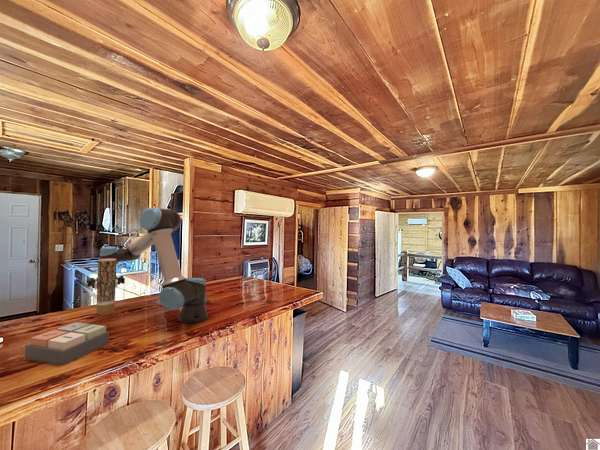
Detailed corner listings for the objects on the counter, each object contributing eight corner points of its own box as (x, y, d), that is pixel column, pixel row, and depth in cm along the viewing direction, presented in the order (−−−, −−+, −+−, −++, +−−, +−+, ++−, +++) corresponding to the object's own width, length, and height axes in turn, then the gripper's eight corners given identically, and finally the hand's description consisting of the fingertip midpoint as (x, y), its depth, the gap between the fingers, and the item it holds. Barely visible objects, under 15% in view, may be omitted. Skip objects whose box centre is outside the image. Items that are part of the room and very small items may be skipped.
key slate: (89, 330, 108) (89, 323, 108) (70, 338, 101) (71, 330, 101) (75, 328, 110) (76, 322, 110) (56, 335, 102) (56, 328, 102)
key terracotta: (67, 339, 100) (68, 331, 100) (45, 347, 92) (46, 339, 93) (53, 337, 101) (53, 329, 101) (30, 345, 94) (30, 337, 94)
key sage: (105, 332, 107) (106, 325, 107) (88, 340, 99) (88, 332, 100) (91, 331, 108) (92, 324, 108) (73, 338, 101) (73, 330, 101)
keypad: (108, 343, 107) (109, 331, 108) (62, 365, 90) (63, 351, 90) (75, 338, 111) (76, 327, 111) (24, 358, 93) (25, 345, 93)
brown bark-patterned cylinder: (104, 315, 111) (106, 260, 112) (92, 313, 113) (94, 259, 113) (118, 310, 118) (119, 258, 118) (106, 309, 119) (108, 258, 120)
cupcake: (201, 305, 164) (201, 287, 164) (193, 302, 168) (194, 285, 168) (211, 302, 171) (212, 285, 171) (204, 300, 175) (204, 283, 176)
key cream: (85, 341, 98) (85, 334, 98) (63, 350, 91) (64, 342, 91) (70, 339, 100) (70, 332, 100) (48, 348, 92) (48, 340, 92)
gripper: (129, 282, 136) (132, 290, 118) (82, 286, 124) (77, 296, 106) (130, 268, 136) (132, 275, 118) (83, 271, 124) (77, 279, 106)
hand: (106, 285), depth 112 cm, fingers closed on brown bark-patterned cylinder, 7 cm apart
